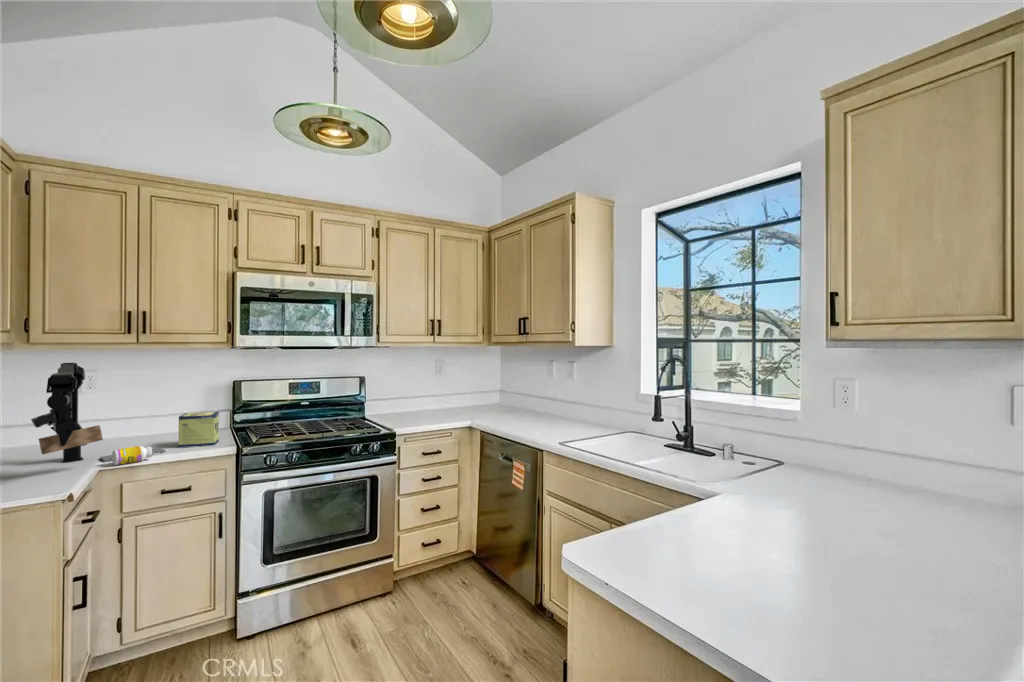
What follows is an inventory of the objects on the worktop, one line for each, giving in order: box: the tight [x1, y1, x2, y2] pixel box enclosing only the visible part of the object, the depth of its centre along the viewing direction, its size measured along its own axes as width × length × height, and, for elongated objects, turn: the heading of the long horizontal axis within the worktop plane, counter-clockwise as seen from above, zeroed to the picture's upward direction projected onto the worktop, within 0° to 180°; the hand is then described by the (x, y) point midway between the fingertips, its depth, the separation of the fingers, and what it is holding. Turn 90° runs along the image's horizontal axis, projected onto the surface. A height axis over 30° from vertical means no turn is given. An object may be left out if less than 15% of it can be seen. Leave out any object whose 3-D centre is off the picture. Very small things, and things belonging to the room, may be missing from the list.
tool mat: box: [99, 447, 166, 463], centre depth 215 cm, size 8×22×1 cm, turn 142°
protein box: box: [177, 411, 220, 448], centre depth 237 cm, size 10×16×16 cm
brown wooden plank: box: [38, 424, 104, 455], centre depth 189 cm, size 18×2×6 cm, turn 142°
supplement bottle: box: [111, 445, 153, 466], centre depth 204 cm, size 7×7×13 cm
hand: (62, 445), depth 187 cm, fingers closed on brown wooden plank, 2 cm apart
